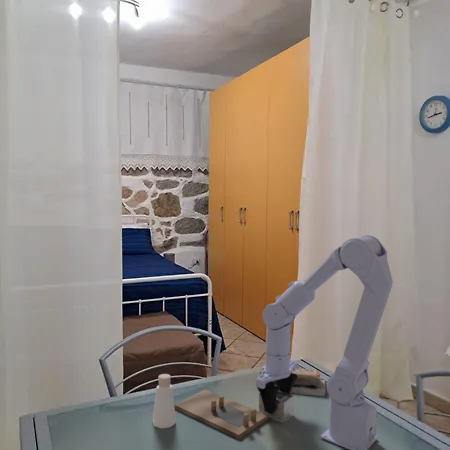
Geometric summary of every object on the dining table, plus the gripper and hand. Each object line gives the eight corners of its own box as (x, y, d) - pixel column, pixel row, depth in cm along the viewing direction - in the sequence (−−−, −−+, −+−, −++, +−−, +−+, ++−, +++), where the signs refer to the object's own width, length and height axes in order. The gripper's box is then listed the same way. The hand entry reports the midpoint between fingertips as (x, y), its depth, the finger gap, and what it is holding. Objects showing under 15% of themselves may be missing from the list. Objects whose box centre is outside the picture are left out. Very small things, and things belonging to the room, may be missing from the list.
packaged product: (257, 373, 118) (262, 359, 128) (257, 390, 118) (261, 376, 128) (326, 380, 114) (325, 366, 124) (325, 398, 114) (325, 382, 124)
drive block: (293, 416, 105) (294, 395, 104) (283, 423, 101) (284, 402, 101) (269, 406, 109) (269, 386, 109) (258, 413, 106) (259, 392, 105)
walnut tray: (267, 419, 102) (268, 405, 102) (238, 439, 94) (239, 423, 94) (204, 393, 115) (204, 380, 115) (174, 408, 107) (174, 394, 106)
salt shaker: (180, 423, 100) (181, 376, 99) (160, 431, 96) (161, 383, 96) (167, 414, 104) (167, 369, 103) (147, 421, 100) (147, 374, 100)
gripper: (280, 340, 112) (278, 392, 113) (245, 356, 101) (244, 413, 102) (304, 347, 108) (302, 400, 109) (271, 364, 96) (269, 423, 97)
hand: (276, 407), depth 105 cm, fingers open, 5 cm apart
